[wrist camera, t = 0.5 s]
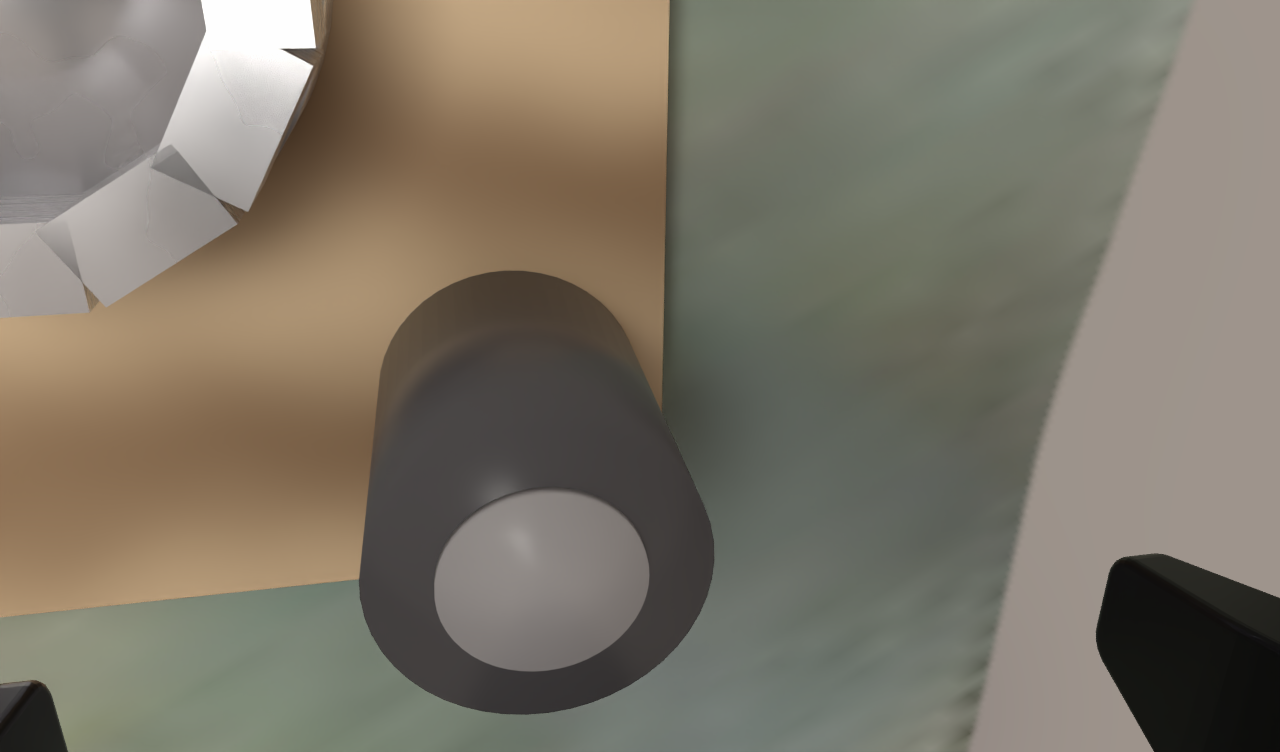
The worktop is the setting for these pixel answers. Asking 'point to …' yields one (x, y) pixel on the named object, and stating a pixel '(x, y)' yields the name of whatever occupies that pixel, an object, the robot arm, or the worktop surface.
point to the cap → (526, 502)
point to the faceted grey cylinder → (138, 134)
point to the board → (331, 299)
